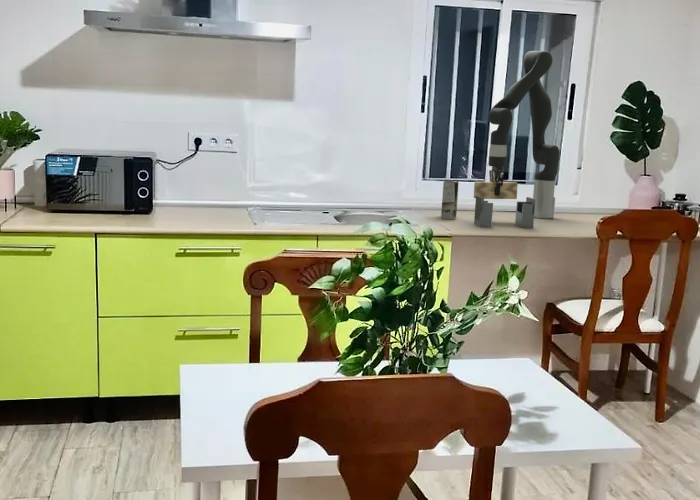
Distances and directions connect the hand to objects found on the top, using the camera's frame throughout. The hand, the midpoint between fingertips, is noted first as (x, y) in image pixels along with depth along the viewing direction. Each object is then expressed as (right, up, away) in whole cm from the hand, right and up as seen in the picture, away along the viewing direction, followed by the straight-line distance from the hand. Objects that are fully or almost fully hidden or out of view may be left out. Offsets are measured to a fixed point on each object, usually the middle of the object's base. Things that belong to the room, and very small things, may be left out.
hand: (495, 194), depth 327 cm
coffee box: (-19, -10, +6) cm, 23 cm away
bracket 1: (-8, -14, -13) cm, 20 cm away
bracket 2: (+10, -14, -11) cm, 20 cm away
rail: (0, -2, 0) cm, 2 cm away
